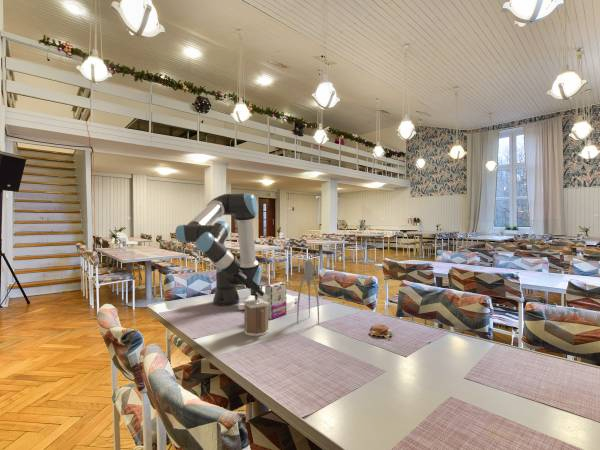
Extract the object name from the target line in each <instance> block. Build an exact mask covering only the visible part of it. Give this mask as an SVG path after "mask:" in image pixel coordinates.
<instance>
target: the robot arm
mask: <svg viewBox="0 0 600 450" xmlns="http://www.w3.org/2000/svg"><path fill="white" fill-rule="evenodd" d="M258 213H259V204H258V200H257V198H256V196H255V195H254V194H252V193H224V194H221V195H218V196H216V197H214V198H213V199H211V200H210V201H209V202H208V203H207V204H206V207H205V208H204V209H203V210H202V211H201V212H200V213H198V214H197V215H196V216H195V217H194V218H193V219H192V220H191V221H189V222H188V224H178V226H176V228H175V232H174V234H175V235H174V236H175V239H176V240H177V242H179V243H194V245H195V246H196V248H197V249H198V250H199V251H200V252H201V253H202V254H203V255H205V257H206V258H208V259H209V260H210V261H211V262H212V263H214V264H215V265H214V267H215V268H216V272H215V274H216V275H215V280H216V286H215V287H216V288H215V289H216V290H215V292H214V293H215V294H214V296H213V299H212V300H213V301H212V304H214V305H215V304H217V305H216V306H233V305H237V304H239V303H240V302H239V301H240V300H241V299H240V296H239V293H238V289H237V286H245V288H247V289H248V290H249V291H251V289H252V290H254V294H255V293H256V294H257V295H258V298H259V299H262V300H263V301H264V302H266V301H267V299H268V298H269V296H268V295H267V294H266V293H265V290H263V289H262V290H261V289H260V286H258V285H260V282H261V280H262V279H261V278H262V275H263V267H262V265H260V264H259V260H257V258H256V245H255V235H254V234H255V231H254V219H256V216H257V215H258ZM222 216H233V220H234V221H236V224H237V234H238V235H237V237H238V244H239V245H238V247H239V258H240V260H239V259H237V258H236V257H235V256H234V254H232V252H230V250H228V249H227V248H226V247H225V246H224V244H225V241H226V239H227V238H228V237H229V233H230V231H231V230H230V229H231V228H230V225H229V224H228V223H227V222H226V221H223V220H217V219H218V218H221V217H222ZM216 220H217V221H216ZM215 221H216V222H215ZM236 303H237V304H236ZM232 304H233V305H232Z"/></svg>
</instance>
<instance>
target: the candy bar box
mask: <svg viewBox="0 0 600 450" xmlns="http://www.w3.org/2000/svg"><path fill="white" fill-rule="evenodd" d="M264 292H265V293H266V294H267V295H268V296H269V298H268V299H267V302H269V303H270V305H269V306H268V320H274V319H277V318H280V317H282V316H286V315H287V311H286V294H287V282H282V281H279V282H275V283H270V284H266V285H264Z"/></svg>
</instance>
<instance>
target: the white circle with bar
mask: <svg viewBox="0 0 600 450" xmlns="http://www.w3.org/2000/svg"><path fill="white" fill-rule="evenodd" d="M258 299H259V298H258ZM248 300H255V296H252V295H251V294H250V295H248V296H246V297H245V298H244V301H248ZM295 303H298V295H297V296H293V295H292V294H288V293H286V312H289V311H291V309H292V308H293V307H294V306H295ZM244 305H245V304H244V303H243V302H239V303H237V308H238V310H240V311H242V310H244ZM295 307H296V306H295ZM295 307H294V308H295ZM294 308H293V309H294ZM293 309H292V310H293ZM288 310H289V311H288Z"/></svg>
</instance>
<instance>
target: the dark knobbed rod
mask: <svg viewBox="0 0 600 450" xmlns="http://www.w3.org/2000/svg"><path fill="white" fill-rule="evenodd" d="M258 286H260V289H261V290H262V291H263V285H261V284H258ZM250 295H252V296H255V303H258V295H257V294H256V293H255V294H254V290H252V289H251V290H250Z"/></svg>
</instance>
